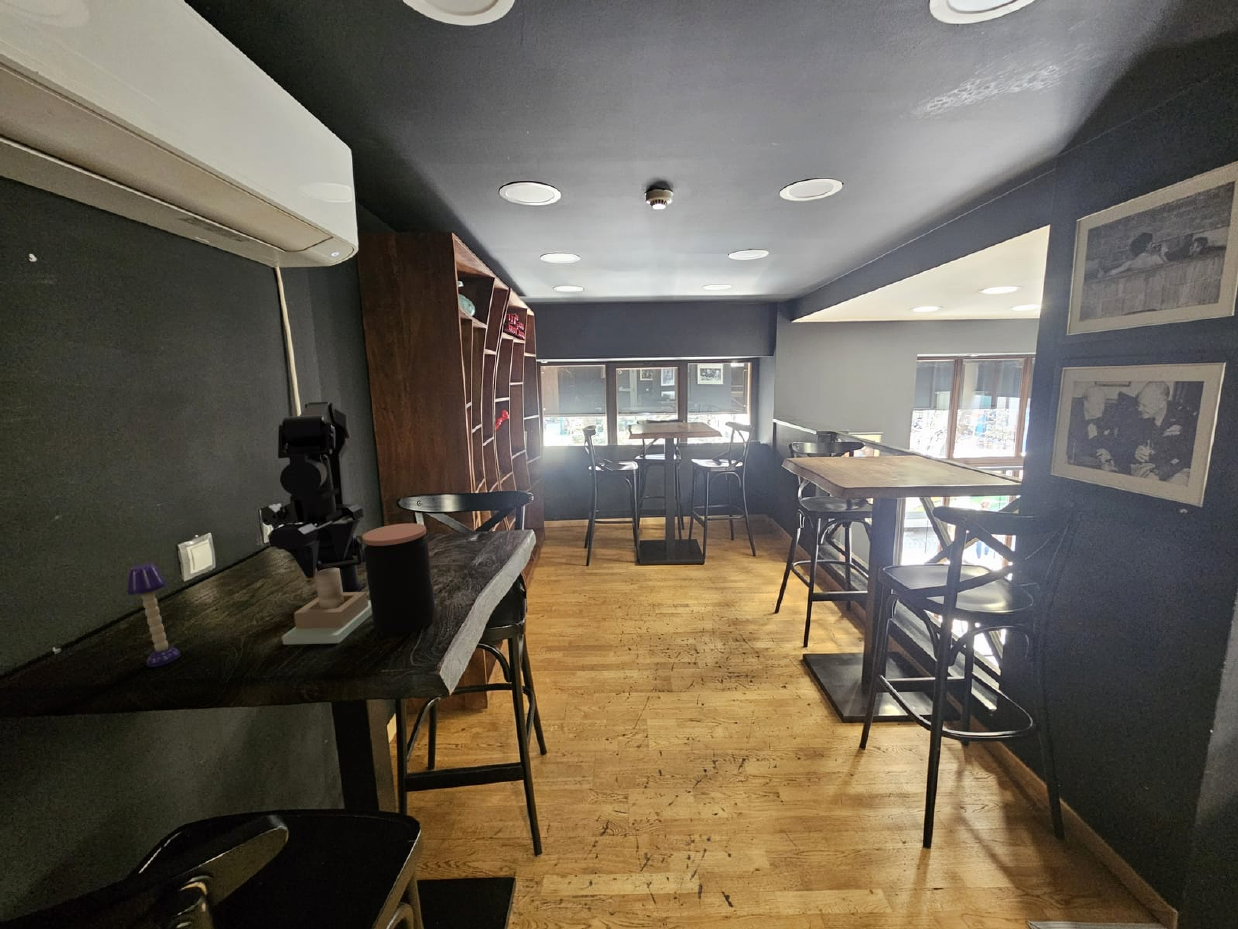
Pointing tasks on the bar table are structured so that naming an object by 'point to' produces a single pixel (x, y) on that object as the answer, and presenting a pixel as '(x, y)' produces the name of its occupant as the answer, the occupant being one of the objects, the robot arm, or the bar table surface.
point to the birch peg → (329, 588)
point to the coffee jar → (399, 578)
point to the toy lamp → (152, 610)
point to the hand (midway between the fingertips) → (326, 568)
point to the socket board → (329, 620)
